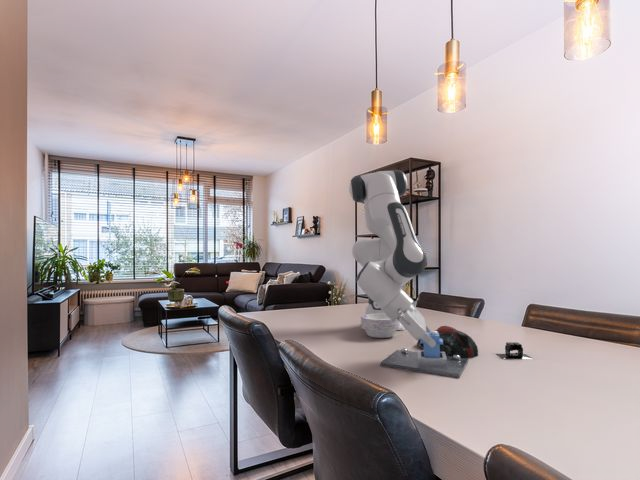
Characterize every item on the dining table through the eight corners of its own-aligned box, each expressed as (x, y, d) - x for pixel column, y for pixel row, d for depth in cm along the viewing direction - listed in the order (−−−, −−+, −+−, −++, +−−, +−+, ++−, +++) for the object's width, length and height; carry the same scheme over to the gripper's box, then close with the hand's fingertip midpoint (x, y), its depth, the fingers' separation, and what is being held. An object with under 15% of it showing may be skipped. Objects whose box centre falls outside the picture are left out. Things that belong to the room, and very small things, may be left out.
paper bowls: (355, 333, 154) (355, 313, 154) (388, 330, 158) (388, 311, 158) (371, 341, 139) (370, 320, 139) (407, 338, 144) (407, 317, 144)
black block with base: (498, 361, 115) (498, 346, 115) (489, 354, 123) (489, 340, 123) (540, 361, 114) (539, 346, 115) (528, 354, 122) (528, 340, 122)
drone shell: (480, 360, 115) (480, 334, 115) (415, 355, 121) (414, 330, 121) (475, 344, 135) (474, 322, 135) (418, 340, 141) (418, 319, 141)
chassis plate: (397, 352, 124) (397, 343, 124) (468, 362, 113) (468, 351, 113) (380, 365, 110) (380, 355, 110) (459, 377, 99) (459, 366, 99)
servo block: (420, 358, 113) (419, 329, 113) (442, 360, 112) (442, 330, 112) (420, 362, 109) (419, 332, 109) (443, 364, 107) (443, 333, 108)
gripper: (405, 304, 102) (443, 342, 100) (407, 295, 122) (439, 327, 119) (389, 320, 103) (426, 358, 101) (393, 309, 123) (425, 340, 120)
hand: (433, 341), depth 110 cm, fingers open, 8 cm apart
